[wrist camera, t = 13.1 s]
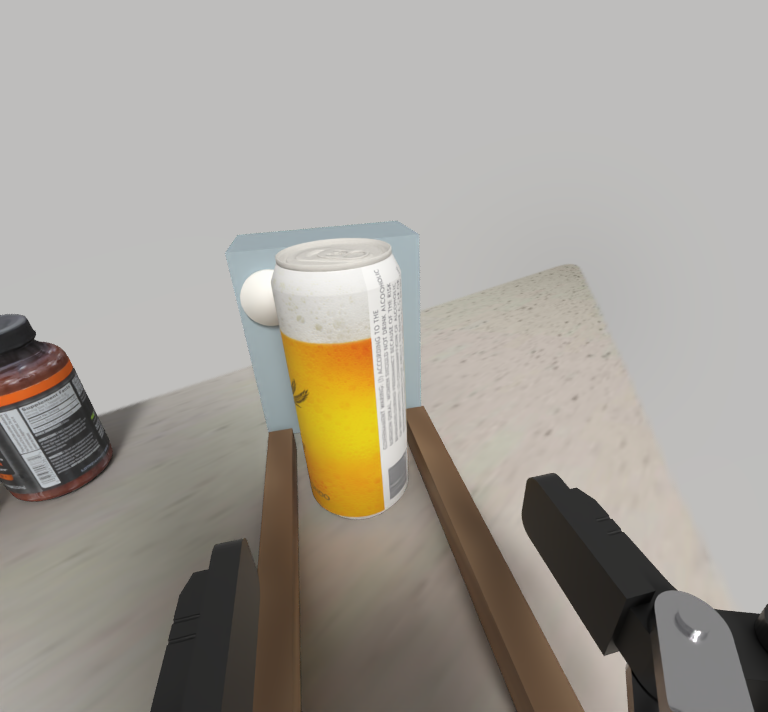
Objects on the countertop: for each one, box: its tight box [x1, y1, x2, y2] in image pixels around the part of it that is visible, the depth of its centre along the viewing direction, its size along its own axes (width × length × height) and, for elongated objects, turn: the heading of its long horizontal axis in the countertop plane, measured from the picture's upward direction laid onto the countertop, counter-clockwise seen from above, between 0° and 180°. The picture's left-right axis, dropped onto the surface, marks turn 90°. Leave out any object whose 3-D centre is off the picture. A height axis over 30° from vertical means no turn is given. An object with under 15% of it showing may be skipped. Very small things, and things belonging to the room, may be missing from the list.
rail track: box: [253, 406, 584, 712], centre depth 20 cm, size 11×19×2 cm, turn 12°
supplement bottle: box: [0, 314, 113, 502], centre depth 25 cm, size 6×6×11 cm
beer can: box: [271, 238, 408, 519], centre depth 21 cm, size 6×6×15 cm
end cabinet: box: [225, 221, 421, 433], centre depth 30 cm, size 12×6×14 cm, turn 102°
